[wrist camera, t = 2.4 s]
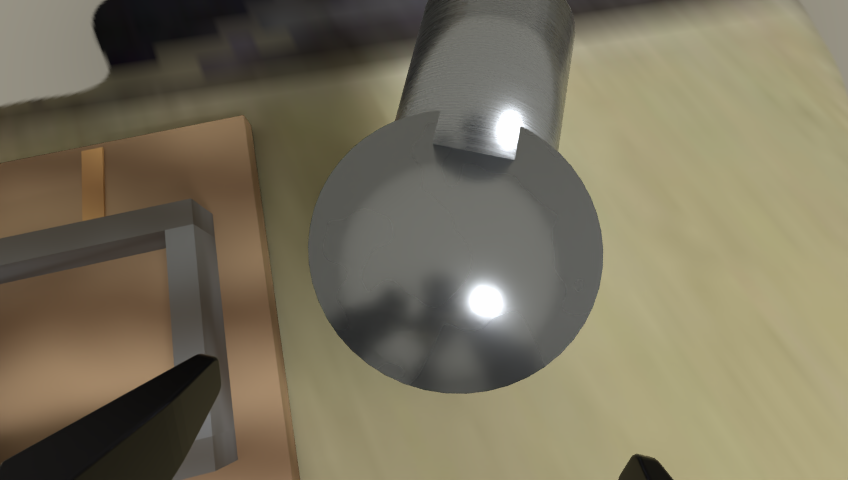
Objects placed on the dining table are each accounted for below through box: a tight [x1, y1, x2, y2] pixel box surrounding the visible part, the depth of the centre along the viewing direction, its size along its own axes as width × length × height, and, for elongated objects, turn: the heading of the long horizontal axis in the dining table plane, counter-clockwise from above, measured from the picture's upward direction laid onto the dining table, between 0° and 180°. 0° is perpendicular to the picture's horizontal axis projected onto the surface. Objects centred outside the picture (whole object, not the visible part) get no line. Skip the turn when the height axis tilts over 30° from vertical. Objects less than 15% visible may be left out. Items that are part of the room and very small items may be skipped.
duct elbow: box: [308, 0, 603, 394], centre depth 15 cm, size 10×6×12 cm, turn 168°
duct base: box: [0, 115, 300, 480], centre depth 19 cm, size 18×15×3 cm
